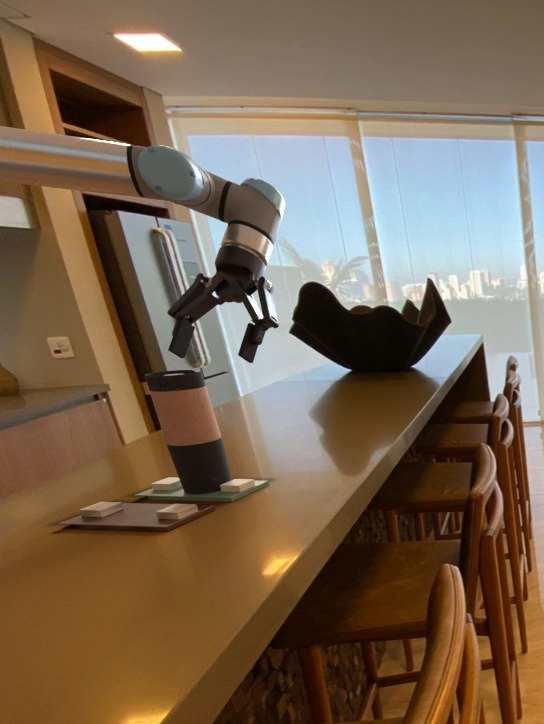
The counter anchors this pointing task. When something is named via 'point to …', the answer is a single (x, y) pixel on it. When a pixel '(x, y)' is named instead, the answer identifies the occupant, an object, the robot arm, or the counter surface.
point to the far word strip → (228, 493)
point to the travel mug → (190, 429)
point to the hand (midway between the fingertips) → (210, 356)
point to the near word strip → (136, 516)
